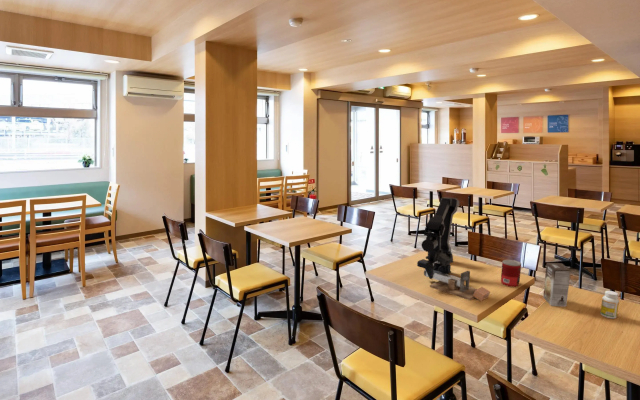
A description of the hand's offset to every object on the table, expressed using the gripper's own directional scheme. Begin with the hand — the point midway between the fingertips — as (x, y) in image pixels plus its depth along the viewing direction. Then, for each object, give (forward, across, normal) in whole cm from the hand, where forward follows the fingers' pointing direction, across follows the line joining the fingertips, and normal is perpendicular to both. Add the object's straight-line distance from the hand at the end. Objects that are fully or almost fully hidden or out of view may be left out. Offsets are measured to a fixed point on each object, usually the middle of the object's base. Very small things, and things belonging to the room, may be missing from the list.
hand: (432, 277), depth 188 cm
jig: (+2, 0, -12) cm, 13 cm away
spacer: (-1, 0, -25) cm, 25 cm away
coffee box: (+3, +20, -47) cm, 51 cm away
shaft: (0, 0, -6) cm, 6 cm away
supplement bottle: (+3, +22, -65) cm, 69 cm away
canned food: (+2, +26, -25) cm, 36 cm away
